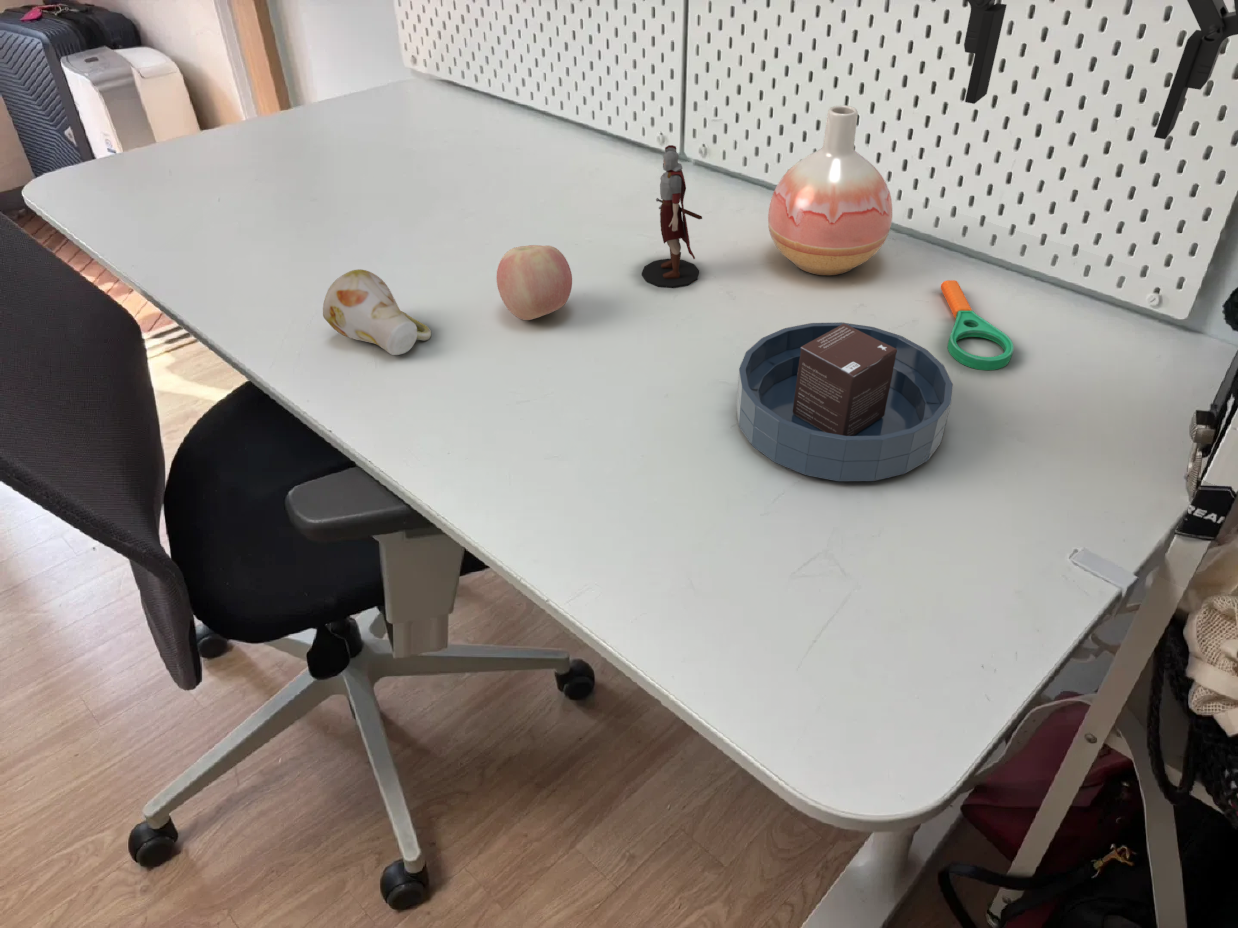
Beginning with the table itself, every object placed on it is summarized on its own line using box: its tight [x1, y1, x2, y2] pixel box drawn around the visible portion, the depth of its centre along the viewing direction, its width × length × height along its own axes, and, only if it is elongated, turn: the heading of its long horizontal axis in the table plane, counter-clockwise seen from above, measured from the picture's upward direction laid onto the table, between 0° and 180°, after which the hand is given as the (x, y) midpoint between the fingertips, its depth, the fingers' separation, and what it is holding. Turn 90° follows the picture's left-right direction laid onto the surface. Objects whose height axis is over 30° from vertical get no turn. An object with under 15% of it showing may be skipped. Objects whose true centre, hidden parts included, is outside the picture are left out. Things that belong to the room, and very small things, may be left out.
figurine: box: [641, 144, 703, 289], centre depth 103 cm, size 7×7×15 cm
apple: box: [496, 244, 573, 321], centre depth 98 cm, size 8×8×8 cm
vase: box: [767, 104, 893, 276], centre depth 103 cm, size 14×14×18 cm
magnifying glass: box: [940, 279, 1015, 371], centre depth 96 cm, size 15×6×2 cm, turn 0°
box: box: [793, 324, 897, 436], centre depth 82 cm, size 6×6×7 cm
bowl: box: [735, 321, 954, 482], centre depth 84 cm, size 18×18×5 cm
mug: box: [322, 269, 432, 356], centre depth 96 cm, size 8×10×10 cm
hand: (1065, 115), depth 70 cm, fingers open, 13 cm apart
